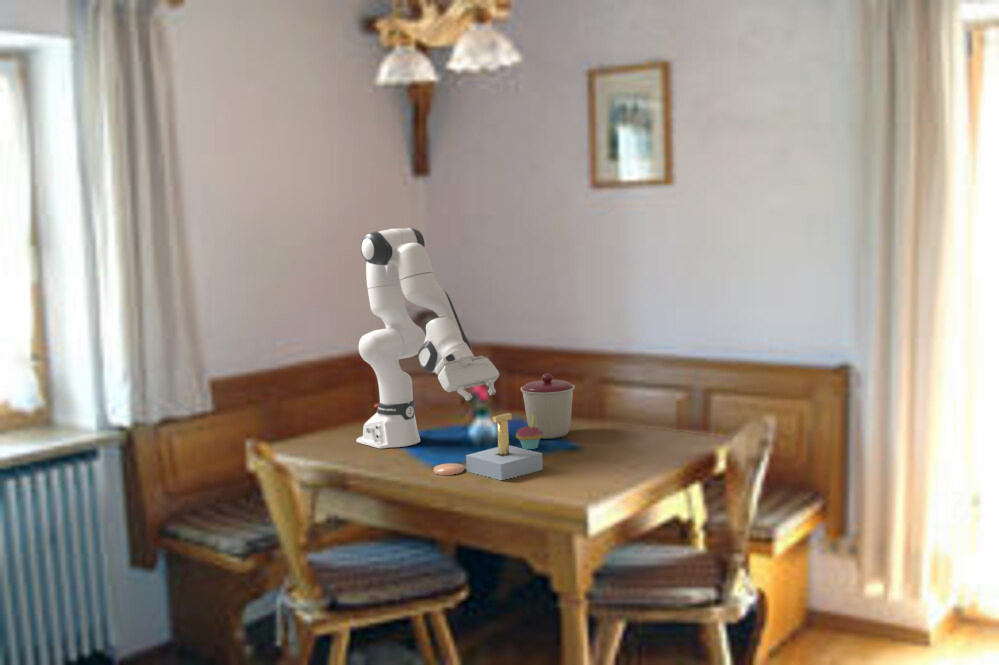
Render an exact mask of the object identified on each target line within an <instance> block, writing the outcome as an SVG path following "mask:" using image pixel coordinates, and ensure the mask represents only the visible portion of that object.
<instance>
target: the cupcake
mask: <svg viewBox="0 0 999 665" xmlns="http://www.w3.org/2000/svg"><path fill="white" fill-rule="evenodd" d="M533 421H534V412H533V414H532V420H531V426H528V425H527V426H526V425H525V426H522V427H519V429H518V430H517V431H516V434H515V438H516V439H517V440H518V441H519V443H520V444H521V448H524V449H534V448H537V449H538V447H539V442H540V441H541V439H543V438H542V434H543V433H542V431H541V430H540V429H538V428H537V427H534V426H533ZM534 450H535V449H534Z"/></svg>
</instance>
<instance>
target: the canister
mask: <svg viewBox="0 0 999 665" xmlns="http://www.w3.org/2000/svg"><path fill="white" fill-rule="evenodd" d="M553 378H554V377H553V375H552V374H551V373H544V374H542V375H541V380H540V379H539V380H534V381H531V382H527V383H525V384H524V386H521V387H520V392H522V397H523V403H524V408H525V415H526V416H525V417H526V421H527V426H531V420H532V414H533V412H534V421H533V426H534V427H537V428H538V429H540V430H541V431H542V433H543V434H542V438H541V439H548V440H549V439H558V438H563V437H564V436H566V435H568V433H569V432H570V428H571V423H572V422H571V420H572V409H573V408H572V407H573V396H574V395H573V394H574V392H573V391H574V390H575V388H576V387H575V385H574V384H572V383H571V382H569V381H566V380H561V379H553Z"/></svg>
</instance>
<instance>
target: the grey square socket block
mask: <svg viewBox="0 0 999 665" xmlns="http://www.w3.org/2000/svg"><path fill="white" fill-rule="evenodd" d="M465 461H466V462H465V463H466V472H467V473H470V472H471V473H470V474H474V473H475V474H474V475H477V474H479V475H478V476H481V475H483V476H482V477H484V476H487V477H486V478H488V477H491V478H490V479H492V478H494V479H493V480H495V479H498V480H497V481H499V480H505V479H508V480H510V479H509V478H512V479H514V478H513V477H515V478H518V477H517V476H519V477H521V475H522V476H525V474H526V475H530V474H532V473H537V472H539V471H542V470H544V467H543V461H544V460H543V453H542V452H539V451H533V450H527V449H523V448H522V447H518V446H513V445H510V444H509V455H508V456H504V457H503V456H499V453H498V446H497V447H492V448H488V449H485V450H481V451H477V452H474V453H470V454H466V455H465ZM505 481H506V480H505Z"/></svg>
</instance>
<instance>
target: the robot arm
mask: <svg viewBox="0 0 999 665" xmlns="http://www.w3.org/2000/svg"><path fill="white" fill-rule="evenodd" d="M425 246H426V245H425V239H424V236H423V234H422V232H421V231H420V230H418V229H417V228H410V227H405V228H389V229H383V230H380V231H372V232H369V233H367V234H365V235H364V236H363V237H362V240H361V243H360V252H361V255H362V257H363V259H364V260H365V261H366V266H365V274H366V275H365V277H366V287H367V294H368V300H369V305H370V306H369V307H370V311H371V312H372V314H373V315H375V316H376V317H379V319H380V320H381V321H382V322H383V324H384V326H385V328H381V329H375V330H372V331H370V332H368V333H366V334H363V335H362V336H361V337H360V339H359V341H358V352H359V355H360V357H361V358H362V360H363V361H364V362H366V363H367V364H368V365H370V367H371V368H372V370H373V371H374V373H375V376H376V379H377V383H378V392H379V395H378V396H379V401H378V402H377V403H374V404H373V405H374V408H376V412H375V413H374V414H373V415H372V416H371V417H370V418H369V419H368V420H367V421H366V422H364V424H363V428H362V429H363V430H362V436H359V437H358V438H356V443H359V444H362V445H366V446H369V447H373V448H377V449H388V448H400V447H409V446H412V445H417V444H418V443H420V442H421V438H420V434H419V430H418V426H417V419H416V415H415V411H416V407H415V406H416V403H415V400H414V397H413V396H414V395H413V394H414V393H413V379H412V376H411V375H410V374H408V373H407V372H405V371H403V370H402V367H401V365H400V362H399V361H400V360H403V359H407V358H412V357H415V356H417V361H418V363H419V365H420V367H421V368H422V369H423V371H425V372H426V373H429V374H431V373H435V374H436V375H437V379H438V381H439V384H440V385H441V387H442V389H443V390H444V391H446V392H447V393H451V392H457V393H458V394H459V395H460V396H462V397H463V398H464V399H465V401H471V400H472V399H473V395H472V394H471V392H467V391H466V389H470V388H473V387H478V386H482V385H486V386H487V387H488V390H487V393H488V394H489V396H493V395H495V394H496V393H497V391H496V388H495V387H494V386H495V385H494V384H495V382H496V381H497V380H498V379H499V377H500V371H499V370H498V369H497V367H496V366H495V365H494V364H493V362H492V361H491V360H490V359H489V357H485V356H483V355H479V356H475V355H474V354H473V347H472V345H471V343H470V341H469V340H468V338H467V336H466V333H465V332H464V330H463V326H462V324H461V322H460V320H459V317H458V315H457V312H456V309H455V306H454V305H453V303H452V300H451V298H450V296H449V294H448V293H447V292H446V290H444V289H442V287H441V286H440V284H439V283H438V281H437V279H436V277H435V273H434V270H433V267H432V266H433V265H432V262H431V259H430V257H429V255H428V253H427V250H426V249H425ZM404 298H405V299H407V301H408V302H410V303H411V304H413V305H415V306H418V307H423V308H425V309H428V310H431V311H433V312H434V313H435V314H436V315H437V317H434V318H432V319H431V320H429V321H428V322H427V323H426V324H425V332H424V330H423V329H422V327H420V326H419V325H417V324H416V323H415V322H414V321H413V319H412V318H411V316H410V315H409V313H408V311H407V308H406V306H405V301H404V300H405V299H404Z"/></svg>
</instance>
